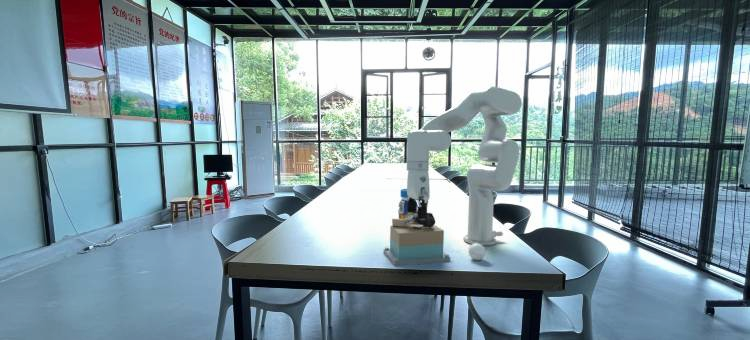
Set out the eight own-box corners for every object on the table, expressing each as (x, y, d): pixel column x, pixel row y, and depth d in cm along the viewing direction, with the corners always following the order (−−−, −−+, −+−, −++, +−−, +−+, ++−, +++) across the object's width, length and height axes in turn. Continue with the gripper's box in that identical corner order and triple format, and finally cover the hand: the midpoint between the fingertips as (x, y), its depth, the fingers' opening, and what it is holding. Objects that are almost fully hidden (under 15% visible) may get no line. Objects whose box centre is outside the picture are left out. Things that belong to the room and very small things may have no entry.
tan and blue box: (434, 248, 123) (434, 222, 122) (450, 260, 110) (451, 231, 109) (383, 252, 118) (383, 225, 117) (394, 265, 105) (394, 235, 104)
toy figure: (393, 230, 110) (437, 229, 110) (392, 212, 110) (436, 210, 110) (392, 227, 117) (433, 226, 117) (391, 210, 118) (432, 208, 118)
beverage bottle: (398, 232, 144) (399, 188, 142) (417, 233, 143) (418, 188, 141) (397, 238, 135) (397, 190, 134) (417, 239, 134) (418, 191, 132)
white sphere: (465, 259, 111) (466, 244, 110) (472, 255, 115) (472, 240, 115) (487, 265, 106) (488, 248, 106) (493, 260, 110) (494, 244, 110)
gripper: (438, 168, 104) (437, 220, 105) (418, 164, 120) (417, 209, 122) (416, 168, 102) (415, 221, 103) (399, 164, 118) (398, 210, 120)
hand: (416, 215), depth 113 cm, fingers open, 9 cm apart
